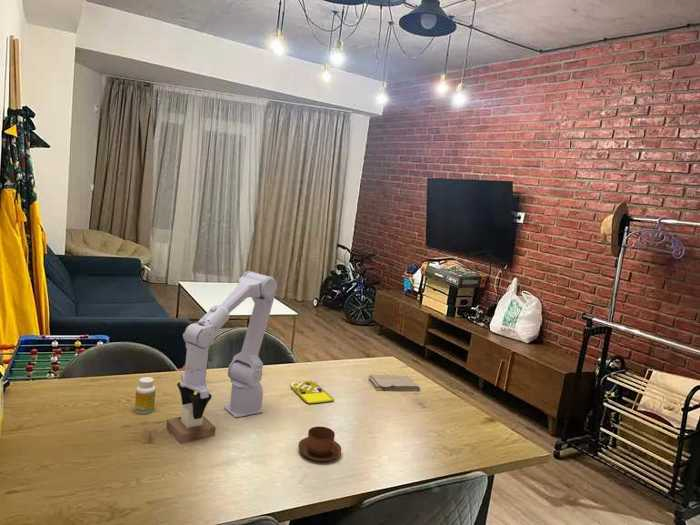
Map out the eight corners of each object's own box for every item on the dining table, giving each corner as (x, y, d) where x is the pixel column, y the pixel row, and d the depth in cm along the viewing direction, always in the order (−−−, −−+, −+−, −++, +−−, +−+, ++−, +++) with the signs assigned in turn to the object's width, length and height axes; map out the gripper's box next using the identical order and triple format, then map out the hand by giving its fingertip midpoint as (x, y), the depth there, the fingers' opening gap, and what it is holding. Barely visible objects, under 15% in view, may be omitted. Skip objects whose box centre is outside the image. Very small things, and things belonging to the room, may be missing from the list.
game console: (336, 403, 179) (336, 399, 179) (307, 407, 173) (307, 402, 173) (312, 383, 194) (313, 379, 194) (285, 386, 189) (286, 382, 188)
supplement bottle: (147, 415, 152) (149, 384, 151) (130, 411, 153) (133, 380, 152) (157, 408, 158) (159, 378, 156) (141, 404, 159) (143, 374, 157)
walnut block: (199, 422, 153) (200, 412, 153) (214, 437, 146) (215, 427, 146) (166, 429, 147) (167, 419, 147) (180, 445, 139) (180, 434, 139)
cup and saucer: (346, 450, 148) (349, 429, 147) (331, 469, 136) (334, 448, 135) (308, 438, 151) (310, 418, 150) (290, 456, 140) (292, 435, 139)
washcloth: (366, 380, 204) (367, 372, 204) (408, 380, 210) (409, 373, 209) (376, 392, 193) (377, 384, 193) (420, 392, 198) (421, 385, 198)
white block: (195, 418, 149) (197, 402, 149) (202, 424, 146) (203, 408, 145) (180, 421, 146) (182, 404, 146) (187, 428, 143) (188, 411, 142)
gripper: (172, 359, 146) (168, 404, 148) (192, 377, 136) (188, 426, 138) (196, 356, 151) (192, 400, 153) (217, 374, 140) (213, 421, 142)
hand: (192, 412), depth 146 cm, fingers open, 7 cm apart
